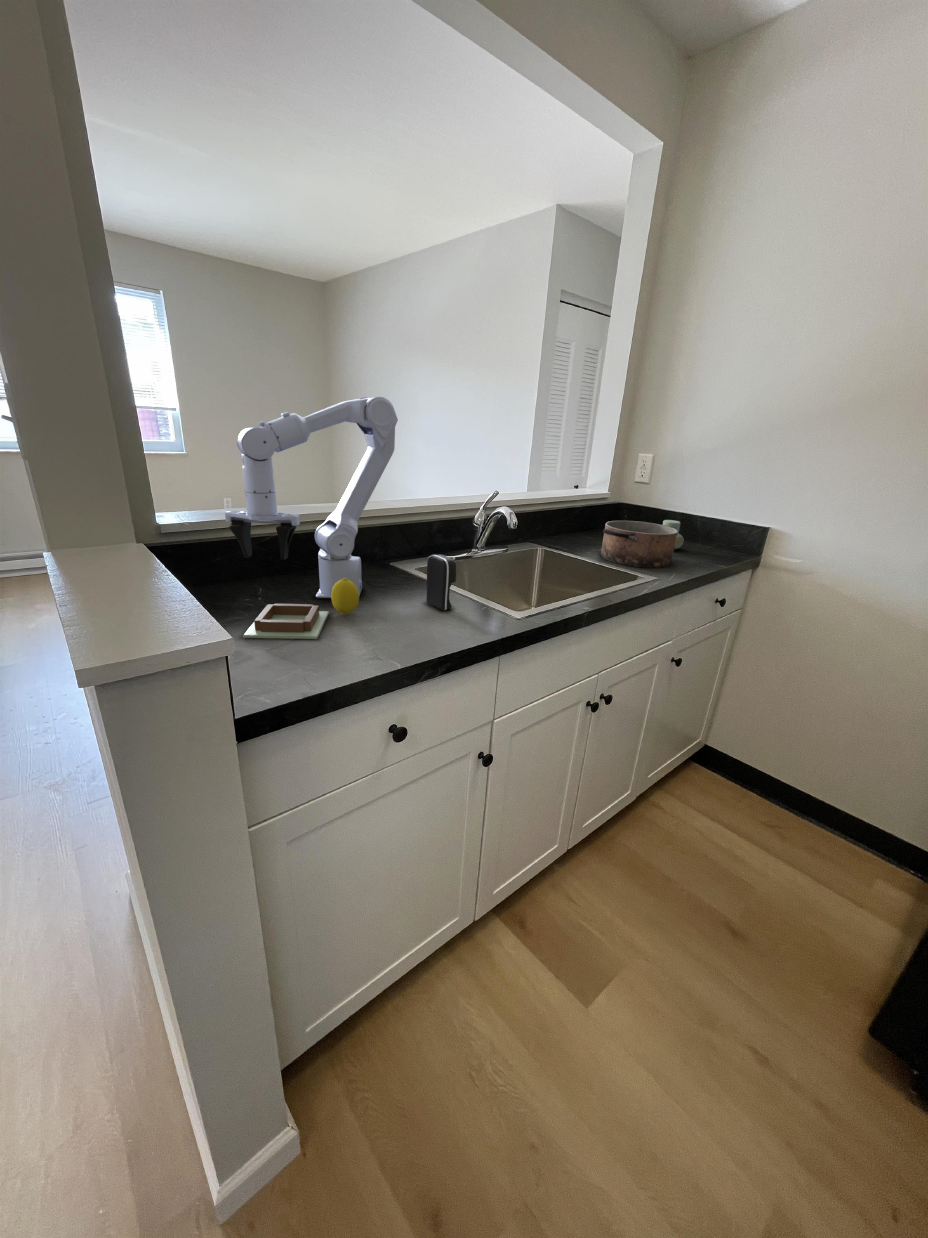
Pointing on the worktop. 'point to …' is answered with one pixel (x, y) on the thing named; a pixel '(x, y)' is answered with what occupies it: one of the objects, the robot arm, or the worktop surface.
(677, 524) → the air freshener
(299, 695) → the worktop surface
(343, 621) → the worktop surface
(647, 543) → the cooking pot
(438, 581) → the battery charger
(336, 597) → the lemon
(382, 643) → the worktop surface
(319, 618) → the cradle pad
